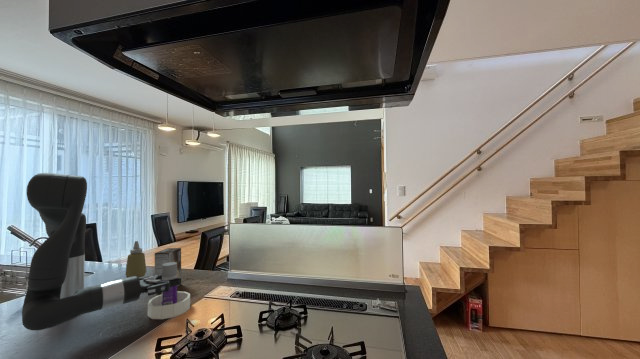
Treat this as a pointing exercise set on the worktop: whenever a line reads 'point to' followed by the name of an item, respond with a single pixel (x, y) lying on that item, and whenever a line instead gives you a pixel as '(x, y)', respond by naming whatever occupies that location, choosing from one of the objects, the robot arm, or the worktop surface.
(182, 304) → the bowl
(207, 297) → the worktop surface
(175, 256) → the coffee box
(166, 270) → the container
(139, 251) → the squeeze bottle
